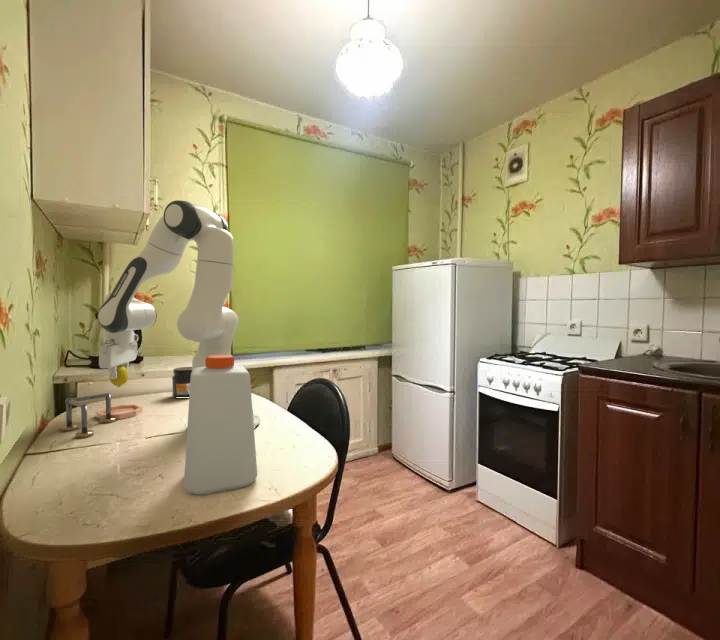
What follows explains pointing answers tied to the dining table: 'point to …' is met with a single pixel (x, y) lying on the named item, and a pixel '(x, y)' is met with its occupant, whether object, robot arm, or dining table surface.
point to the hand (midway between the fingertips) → (119, 376)
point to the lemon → (120, 376)
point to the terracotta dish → (121, 411)
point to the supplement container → (181, 381)
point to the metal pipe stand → (85, 414)
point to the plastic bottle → (219, 428)
